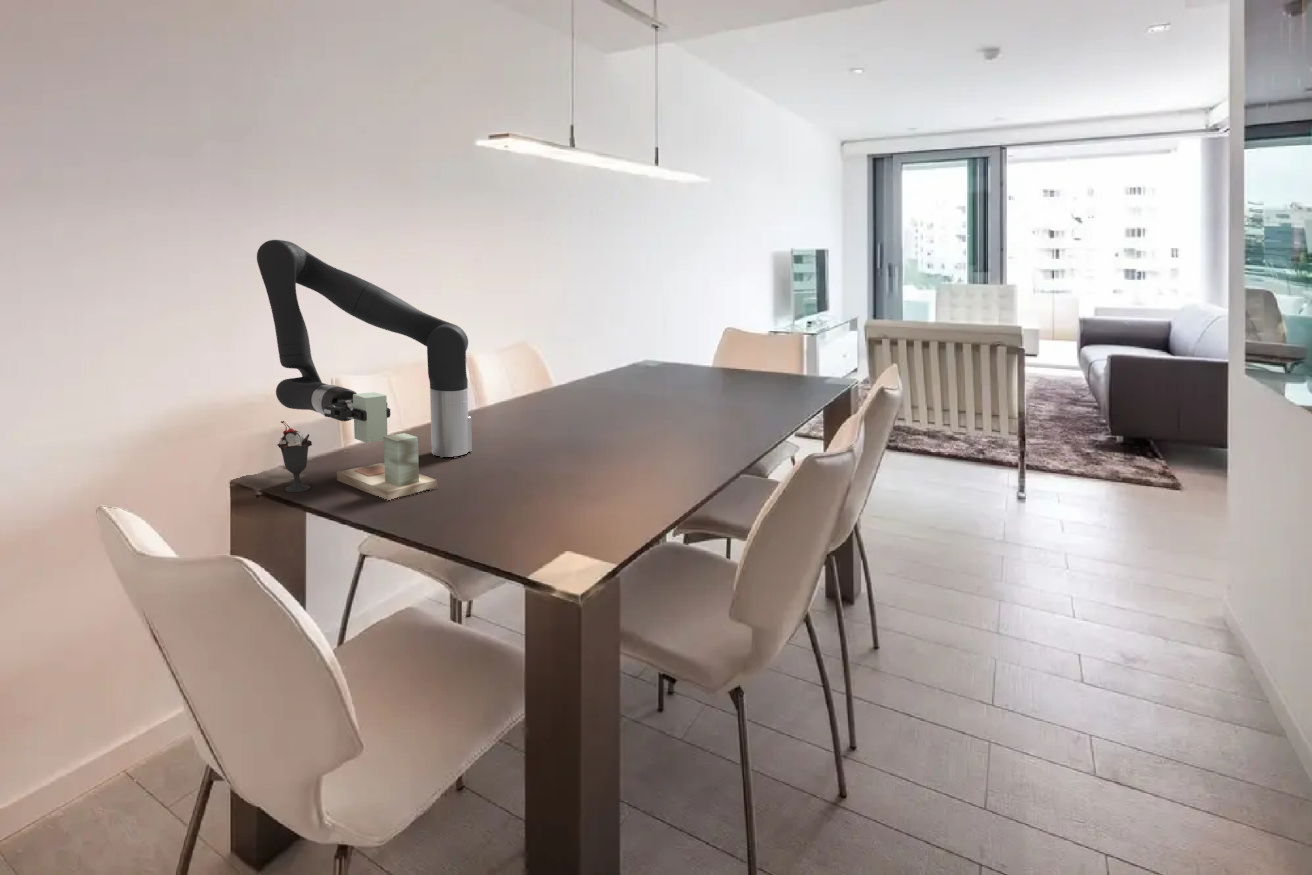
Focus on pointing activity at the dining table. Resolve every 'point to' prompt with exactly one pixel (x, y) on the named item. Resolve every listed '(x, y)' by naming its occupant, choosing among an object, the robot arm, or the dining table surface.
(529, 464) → the dining table surface
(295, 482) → the sundae
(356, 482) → the board
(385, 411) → the green block
